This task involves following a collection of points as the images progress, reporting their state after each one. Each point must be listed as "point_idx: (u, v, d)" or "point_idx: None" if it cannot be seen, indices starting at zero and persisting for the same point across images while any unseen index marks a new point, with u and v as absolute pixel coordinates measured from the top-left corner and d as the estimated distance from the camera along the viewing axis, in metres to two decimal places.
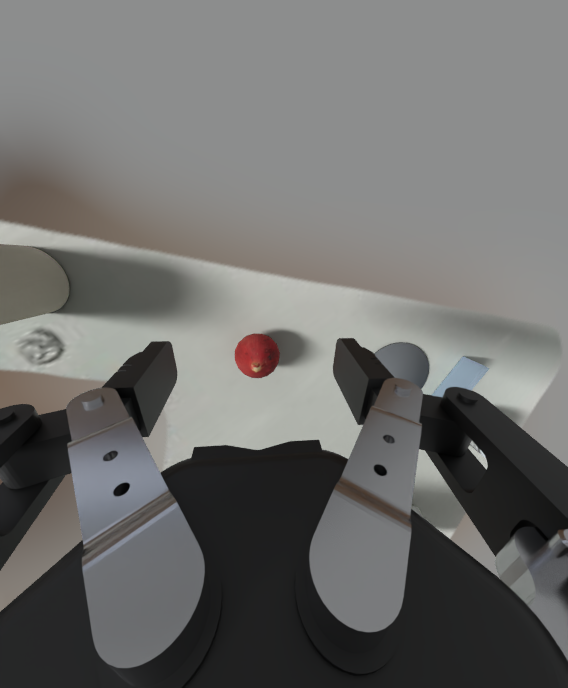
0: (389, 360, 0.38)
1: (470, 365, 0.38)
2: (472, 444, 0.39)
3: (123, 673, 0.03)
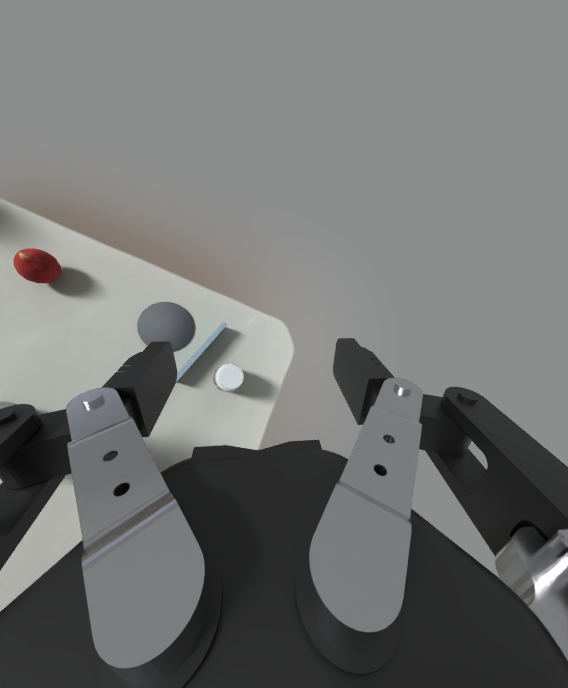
0: (161, 313, 0.53)
1: None
2: (215, 381, 0.50)
3: (123, 673, 0.03)
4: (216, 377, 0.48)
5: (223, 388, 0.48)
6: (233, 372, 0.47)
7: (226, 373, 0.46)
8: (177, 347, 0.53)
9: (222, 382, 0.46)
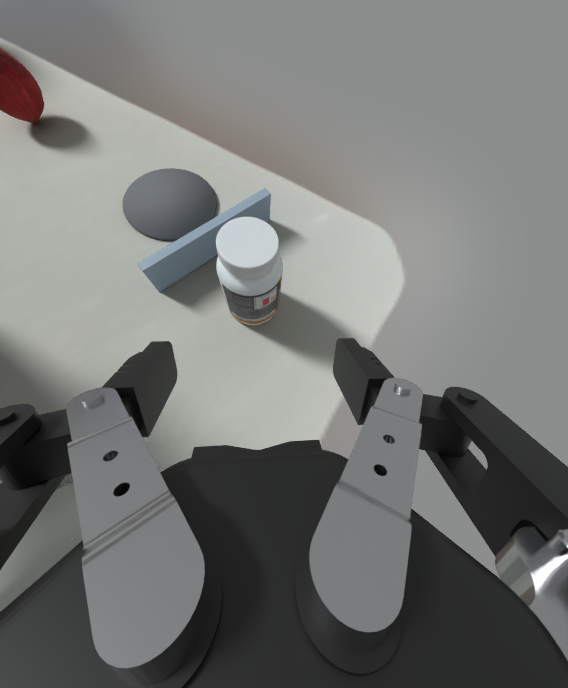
0: (168, 182, 0.31)
1: None
2: None
3: (123, 673, 0.03)
4: (218, 257, 0.20)
5: (228, 281, 0.19)
6: (255, 232, 0.18)
7: (235, 231, 0.18)
8: (178, 234, 0.28)
9: (220, 247, 0.17)
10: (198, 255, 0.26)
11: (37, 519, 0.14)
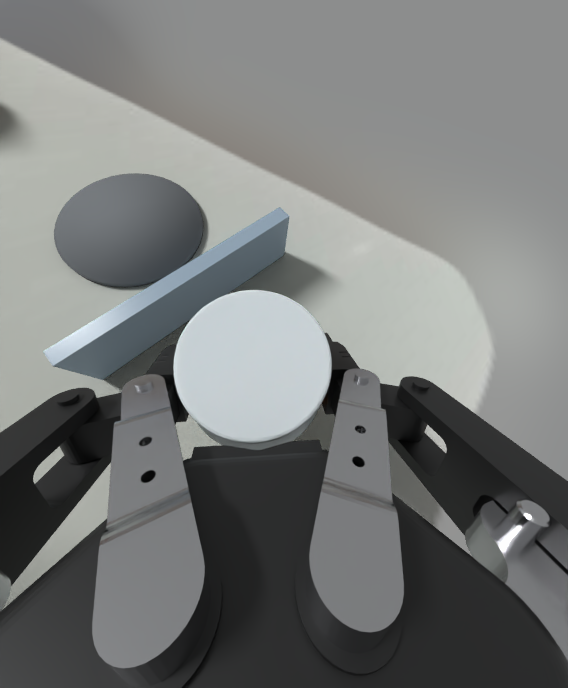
0: (130, 194, 0.20)
1: None
2: None
3: (112, 668, 0.03)
4: None
5: None
6: (272, 333, 0.07)
7: (225, 330, 0.07)
8: (139, 278, 0.18)
9: (183, 381, 0.07)
10: (168, 319, 0.16)
11: None
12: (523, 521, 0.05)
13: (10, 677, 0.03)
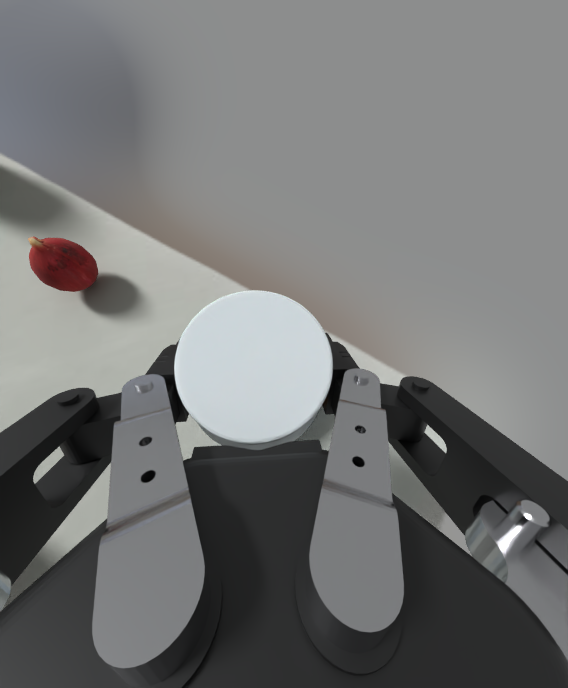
0: None
1: None
2: None
3: (112, 668, 0.03)
4: None
5: None
6: (273, 334, 0.07)
7: (226, 331, 0.07)
8: None
9: (184, 382, 0.07)
10: None
11: None
12: (523, 521, 0.05)
13: (10, 677, 0.03)
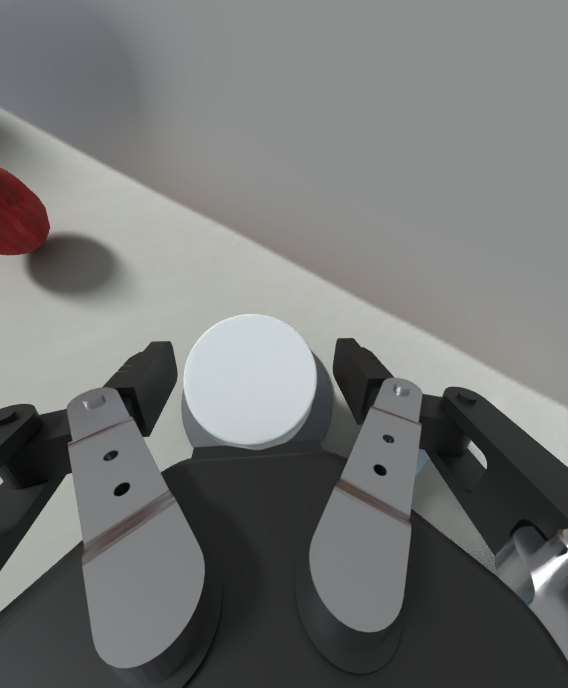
0: None
1: None
2: None
3: (123, 672, 0.03)
4: None
5: None
6: (266, 352, 0.09)
7: (226, 349, 0.09)
8: None
9: (192, 393, 0.08)
10: None
11: None
12: (563, 550, 0.04)
13: (5, 674, 0.03)
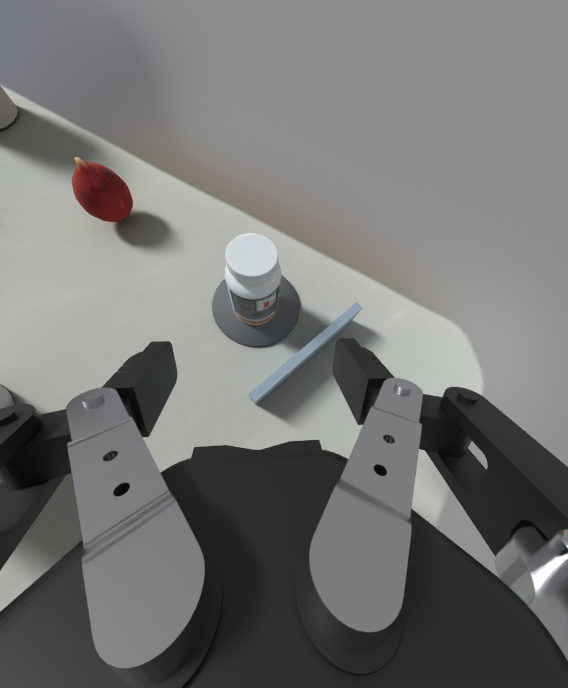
0: None
1: None
2: None
3: (123, 672, 0.03)
4: (226, 266, 0.24)
5: (234, 287, 0.23)
6: (257, 247, 0.22)
7: (242, 245, 0.21)
8: (267, 341, 0.29)
9: (229, 259, 0.21)
10: (294, 369, 0.27)
11: None
12: (563, 550, 0.04)
13: (5, 674, 0.03)
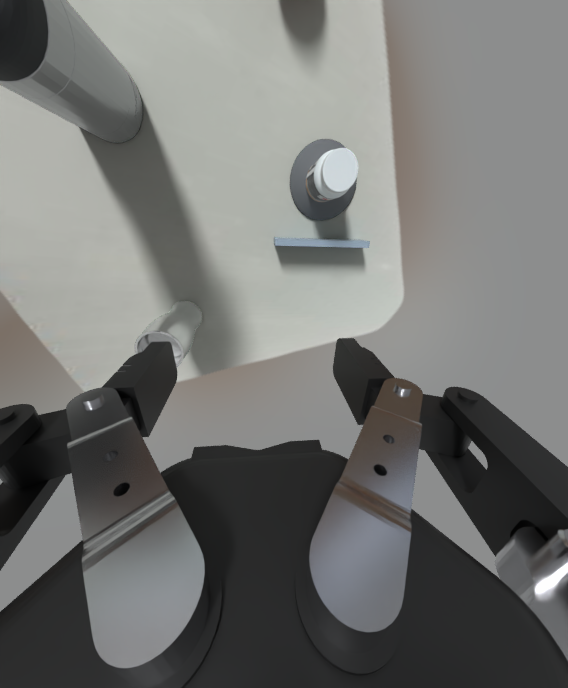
0: None
1: (360, 240, 0.42)
2: (316, 161, 0.33)
3: (123, 673, 0.03)
4: (324, 154, 0.32)
5: (316, 176, 0.33)
6: (347, 168, 0.30)
7: (341, 158, 0.30)
8: (308, 214, 0.41)
9: (326, 162, 0.30)
10: None
11: (194, 325, 0.42)
12: (563, 550, 0.04)
13: (6, 674, 0.03)
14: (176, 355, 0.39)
